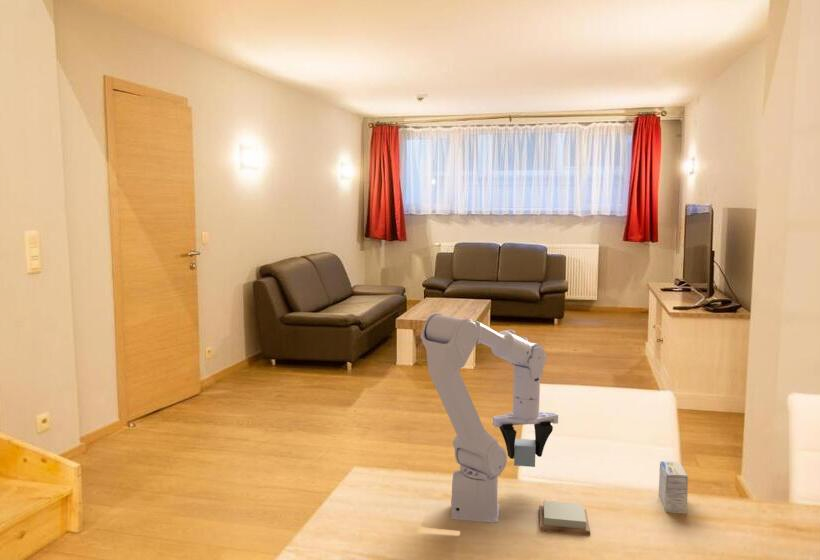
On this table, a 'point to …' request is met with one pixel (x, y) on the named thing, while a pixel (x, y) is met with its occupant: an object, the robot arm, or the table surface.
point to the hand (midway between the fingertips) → (524, 456)
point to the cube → (524, 452)
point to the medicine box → (673, 487)
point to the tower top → (564, 514)
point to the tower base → (562, 529)
